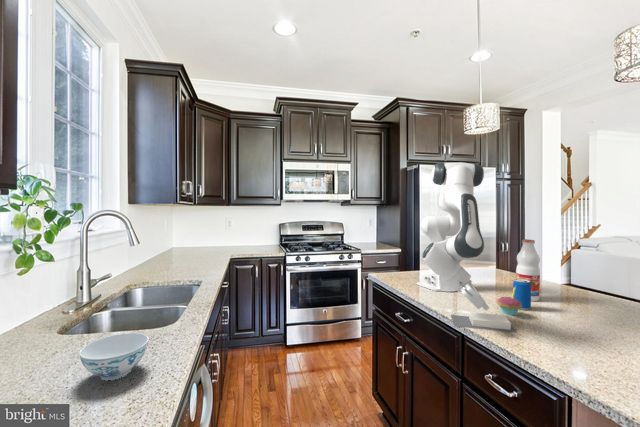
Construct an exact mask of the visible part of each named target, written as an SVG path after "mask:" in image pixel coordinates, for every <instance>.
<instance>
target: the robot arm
mask: <svg viewBox="0 0 640 427" xmlns="http://www.w3.org/2000/svg"><path fill="white" fill-rule="evenodd" d="M431 179H432V180H431V181H432V183H434V184H435V185H438V186H440V189H439V198H438V206H439V208H440V209H441V210H443V211H444V212H446V213H448V214H445V215H442V214H441V215H439V214H437V215H435V214H433V215H428V216H425V217H423V218H422V220H421V223H420V228H421V232H422V233H423V234H424V235H426V236H427V237H428V238H429V239H430V240H431V242H430V244H428V245H427V247H426V248H425V249H424V250H423V252H422V259H423V261H424V263H425V264H426V266H428V268H429V269H427V270H426V271H424V272H422V275H421V279H420V280H419V281H417V282H416V285H418V286H420V287H422V288H425V289H428V290H431V291H434V292H458V293H462V295H463V296H464V297H465V298H466V299H467V300H468V301H469V302H470V303H471V304H472V305H473V306H474V307H475V308H476V309H477V310H480V309H481V308H482V309H483V310H484V311H488V310H489V309H490V307H489V305H488V304H487V302H486V301H485V299H484V298H483V297H482V295H481V294H480V293H479V291H478V289H476V287H475V286H474V284H473V283H472V280H471V278H472V275H471V274H470V273H469V272H468V271H467V270H466V269H465V268H463V266H462V265H461V264H460V263H461V262H462V261H464V260H468V259H473V258H477V257H479V256H480V255H481V254H482V253H483V251H484V249H485V242H484V238H483V235H482V232H481V226H480V220H479V209H478V202H477V199H476V197H475V196H474V195H475V194H474V188H475V187H476V188H477V187H478V186H480V185H481V184H482V183H483V180H484V179H485V171H484V167H483V166H482V165H481V164H478V163H470V162H469V163H467V162H463V161H462V162H461V161H460V162H443V161H442V162H438V163H435V165H434V166H433V168H432V169H431ZM446 237H449V238H446Z"/></svg>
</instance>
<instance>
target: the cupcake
mask: <svg viewBox="0 0 640 427" xmlns="http://www.w3.org/2000/svg"><path fill="white" fill-rule="evenodd" d="M515 287H516V286H515ZM515 289H516V288H514V289H513V288H512V293H511V296H502V297H500V298H498V299H497V301H496V304H497V305H498V306H499V307H500V310H501V313H502V314H503V315H507V316H517V314H518V312H519V310H521V309H520V308H521V307H522V303H521V302H520V301H519V300H517V299H515V298H514V294H515Z"/></svg>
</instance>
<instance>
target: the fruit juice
mask: <svg viewBox="0 0 640 427" xmlns="http://www.w3.org/2000/svg"><path fill="white" fill-rule="evenodd" d="M521 242H522V246H521V248H520V251H519V252H518V253H517V255H516V262H517V265H516V269H515V279H525V280H529V281H530V283H531V302H538V301H540V290H541V289H540V287H541V270H540V267H539V266H540V262H541V259H540V258H541V257H540V255H539V254H538V253H537V251H536V248H535V244H536V240H535V239H527V238H526V239H525V238H524V239H522V241H521Z"/></svg>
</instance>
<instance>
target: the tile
mask: <svg viewBox="0 0 640 427" xmlns="http://www.w3.org/2000/svg"><path fill="white" fill-rule="evenodd" d="M468 316H469V319H470V321H471V323H472V325H473V326H478V327H488V328H497V329H507V330H511V325H512V323H511V321H510V320H509V319H508V318H507V316H506V315H505V314H497V313H496V314H493V313H484V312H483V313H482V312H473V311H472V312H471V311H469V312H468Z"/></svg>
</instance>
